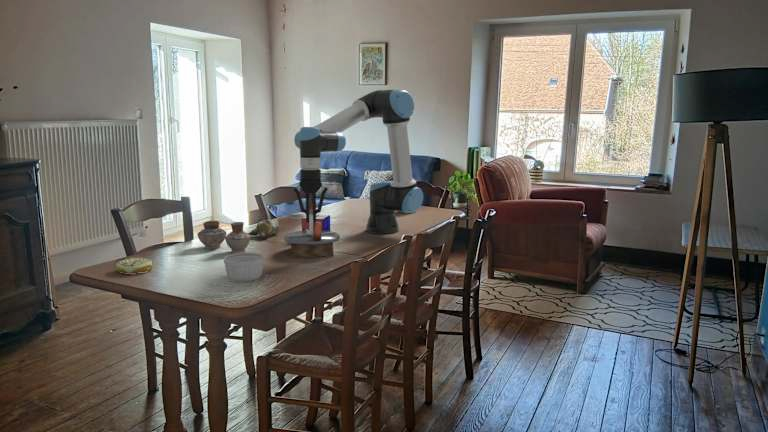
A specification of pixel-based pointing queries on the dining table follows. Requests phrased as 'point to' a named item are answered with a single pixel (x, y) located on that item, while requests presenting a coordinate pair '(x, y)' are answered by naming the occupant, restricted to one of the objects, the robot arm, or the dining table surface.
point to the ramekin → (244, 266)
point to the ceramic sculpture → (266, 228)
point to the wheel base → (311, 250)
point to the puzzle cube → (319, 218)
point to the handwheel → (312, 236)
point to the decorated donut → (134, 265)
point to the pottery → (224, 236)
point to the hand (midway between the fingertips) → (311, 230)
